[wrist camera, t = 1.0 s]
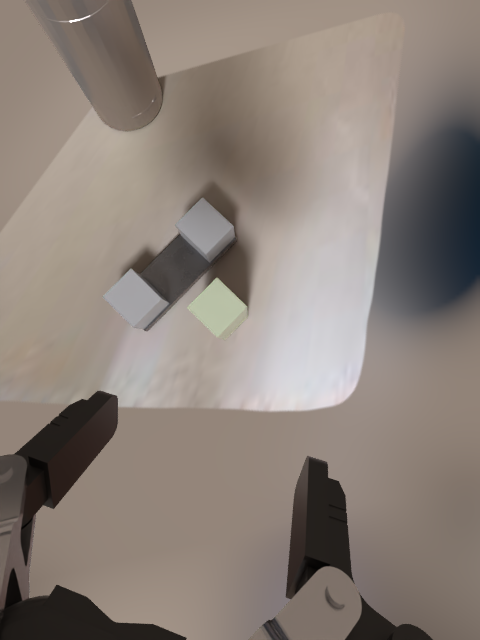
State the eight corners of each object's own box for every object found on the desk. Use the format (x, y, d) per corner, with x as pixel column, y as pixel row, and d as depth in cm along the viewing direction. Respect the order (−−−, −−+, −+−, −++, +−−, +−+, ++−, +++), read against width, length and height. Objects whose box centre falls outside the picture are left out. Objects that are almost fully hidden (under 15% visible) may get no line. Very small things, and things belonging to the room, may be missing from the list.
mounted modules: (115, 301, 39) (102, 296, 35) (206, 210, 40) (202, 197, 36) (143, 329, 39) (133, 327, 35) (235, 237, 39) (233, 226, 36)
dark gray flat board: (117, 301, 40) (114, 299, 39) (206, 212, 41) (205, 209, 40) (147, 331, 40) (144, 330, 39) (236, 241, 40) (236, 238, 39)
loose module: (202, 317, 40) (186, 307, 30) (224, 295, 40) (216, 277, 30) (225, 340, 39) (217, 337, 29) (247, 317, 39) (247, 306, 29)
